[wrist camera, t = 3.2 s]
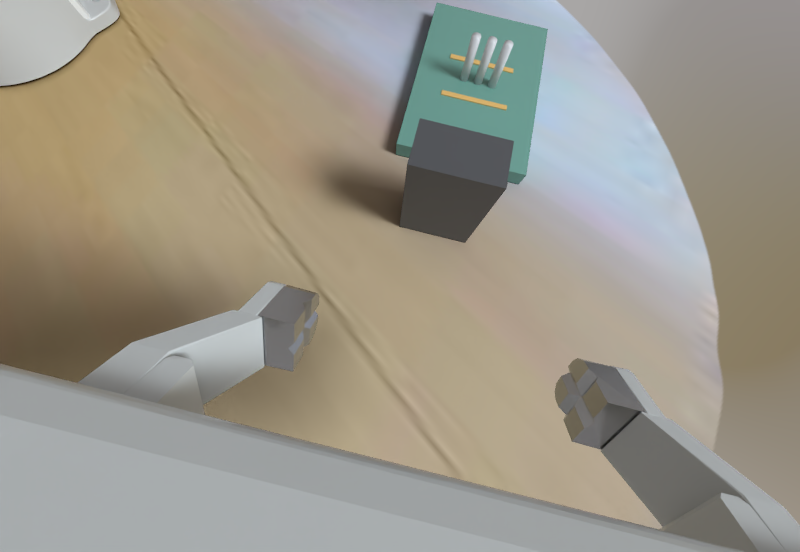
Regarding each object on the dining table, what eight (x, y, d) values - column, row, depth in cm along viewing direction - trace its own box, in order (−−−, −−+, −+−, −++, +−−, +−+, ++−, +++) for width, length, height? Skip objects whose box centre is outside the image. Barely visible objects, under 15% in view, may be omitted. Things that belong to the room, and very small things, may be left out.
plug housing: (399, 226, 26) (407, 164, 17) (408, 193, 27) (419, 117, 18) (465, 242, 26) (506, 188, 17) (471, 208, 27) (514, 140, 18)
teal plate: (395, 154, 28) (398, 108, 22) (434, 18, 32) (444, -48, 27) (518, 184, 28) (550, 144, 22) (540, 43, 32) (571, -18, 27)
